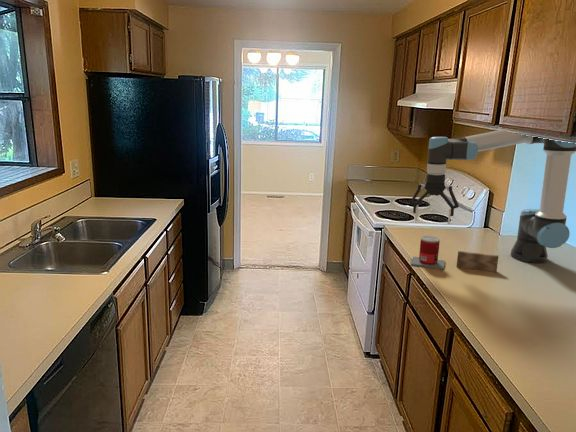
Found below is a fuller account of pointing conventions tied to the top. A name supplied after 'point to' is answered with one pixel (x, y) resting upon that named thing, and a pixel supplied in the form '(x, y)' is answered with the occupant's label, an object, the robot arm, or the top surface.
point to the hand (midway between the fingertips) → (432, 221)
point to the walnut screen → (477, 261)
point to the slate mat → (438, 265)
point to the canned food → (429, 250)
